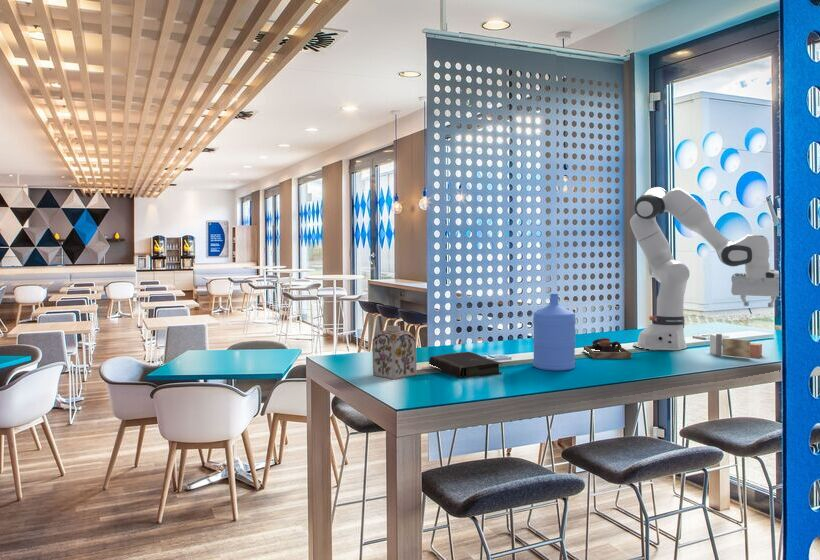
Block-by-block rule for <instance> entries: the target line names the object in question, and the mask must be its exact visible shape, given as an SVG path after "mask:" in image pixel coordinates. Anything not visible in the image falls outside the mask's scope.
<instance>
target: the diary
mask: <svg viewBox="0 0 820 560" xmlns="http://www.w3.org/2000/svg"><path fill="white" fill-rule="evenodd" d="M429 364H431V365H433V366H436V367H438V368H440V369H441V372H443V373H445V374H447V375H450V376H452V377H455V378H458V379H462V378H463V379H464V378H465V379H466V378H474V377H481V378H482V377H487V376H489V377H490V376H497V375H498V376H499V375H501V374H503V371H501V372H500V365H503V363H502V362H501V361H500V362H499V361H496V360H494V359H490V358H486V357H484V356H482V355H480V354H478V353H476V352H472V351H463V352H461V351H460V352H452V353H445V354H439V355H434V356H433V355H432V356H430V357H429V359H428V365H429Z"/></svg>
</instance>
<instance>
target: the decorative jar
mask: <svg viewBox="0 0 820 560" xmlns="http://www.w3.org/2000/svg"><path fill="white" fill-rule="evenodd" d="M417 362H418V361H417V339H416V337H415V336H414V335H413V334H412V333H411V331H408V330H404V329H401V325H388V326H387V329H386V330H381V331H379V332H378V333H376V335H375V336H374V337H373V338H372V375H373V376H376V377H379V378H384V379H389V380H393V381H395V380H396V381H397V380H399V379H404V378H409V377H413V376H416V375H417V369H418V368H417Z"/></svg>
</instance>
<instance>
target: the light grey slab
mask: <svg viewBox="0 0 820 560" xmlns="http://www.w3.org/2000/svg"><path fill="white" fill-rule="evenodd" d="M722 338H723V334H721V333H715V334H714V333H710V334H709V353H710V354H712V355H714V356H716V357H722V356H723V355H722Z"/></svg>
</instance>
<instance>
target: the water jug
mask: <svg viewBox="0 0 820 560" xmlns="http://www.w3.org/2000/svg"><path fill="white" fill-rule="evenodd" d="M549 296H550V297H549V305H546V306H544V307H542V308H539V309H538V310H536V311H534V312H533V319H532V324H533V339H532V345H533V359H532V365H533V367H535V368H536V369H539V370H542V371H543V370H544V371H551V372H552V371H554V372H555V371H556V372H562V371H569V370H573V369H574V368H575V367H576V360H575V359H576V358H575V357H576V356H575V353H576V350H575V348H576V327H575V326H576V314H575V312H574V311H572V310H570V309H568V308H566V307H564V306H561V305H560V304H559V293H550V294H549Z"/></svg>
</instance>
